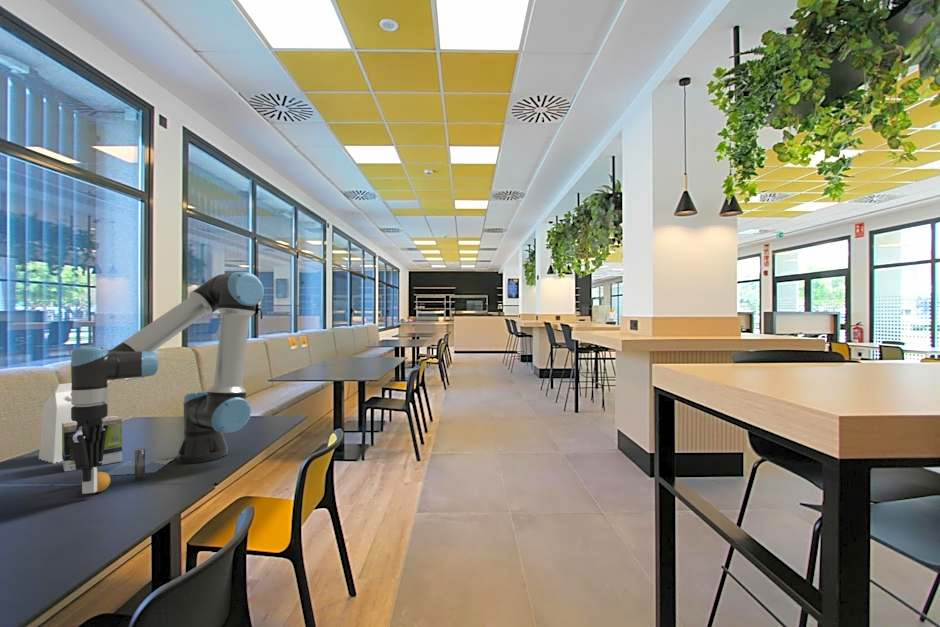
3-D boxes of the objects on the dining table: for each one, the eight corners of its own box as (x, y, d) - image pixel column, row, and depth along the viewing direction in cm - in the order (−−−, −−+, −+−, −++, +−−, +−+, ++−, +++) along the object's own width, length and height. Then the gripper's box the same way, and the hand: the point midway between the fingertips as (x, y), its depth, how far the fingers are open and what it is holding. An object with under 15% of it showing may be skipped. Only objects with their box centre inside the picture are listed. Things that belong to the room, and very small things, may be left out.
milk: (80, 450, 169) (81, 380, 169) (96, 454, 163) (96, 382, 164) (38, 459, 158) (39, 384, 159) (53, 463, 153) (54, 386, 153)
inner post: (146, 478, 137) (146, 448, 137) (142, 481, 134) (142, 450, 134) (137, 479, 136) (137, 449, 136) (132, 481, 134) (133, 451, 134)
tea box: (118, 456, 161) (118, 414, 161) (122, 462, 154) (122, 418, 154) (61, 465, 150) (61, 421, 151) (63, 472, 143) (63, 425, 143)
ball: (102, 491, 123) (112, 491, 128) (105, 470, 125) (115, 471, 130) (78, 494, 122) (90, 494, 127) (82, 472, 124) (93, 473, 129)
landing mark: (175, 458, 157) (175, 458, 157) (154, 472, 142) (154, 472, 142) (126, 462, 154) (126, 461, 154) (100, 476, 139) (100, 475, 139)
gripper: (88, 400, 127) (88, 485, 127) (56, 409, 114) (56, 503, 114) (118, 399, 129) (119, 482, 128) (91, 407, 116) (91, 500, 116)
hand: (89, 492), depth 121 cm, fingers closed
